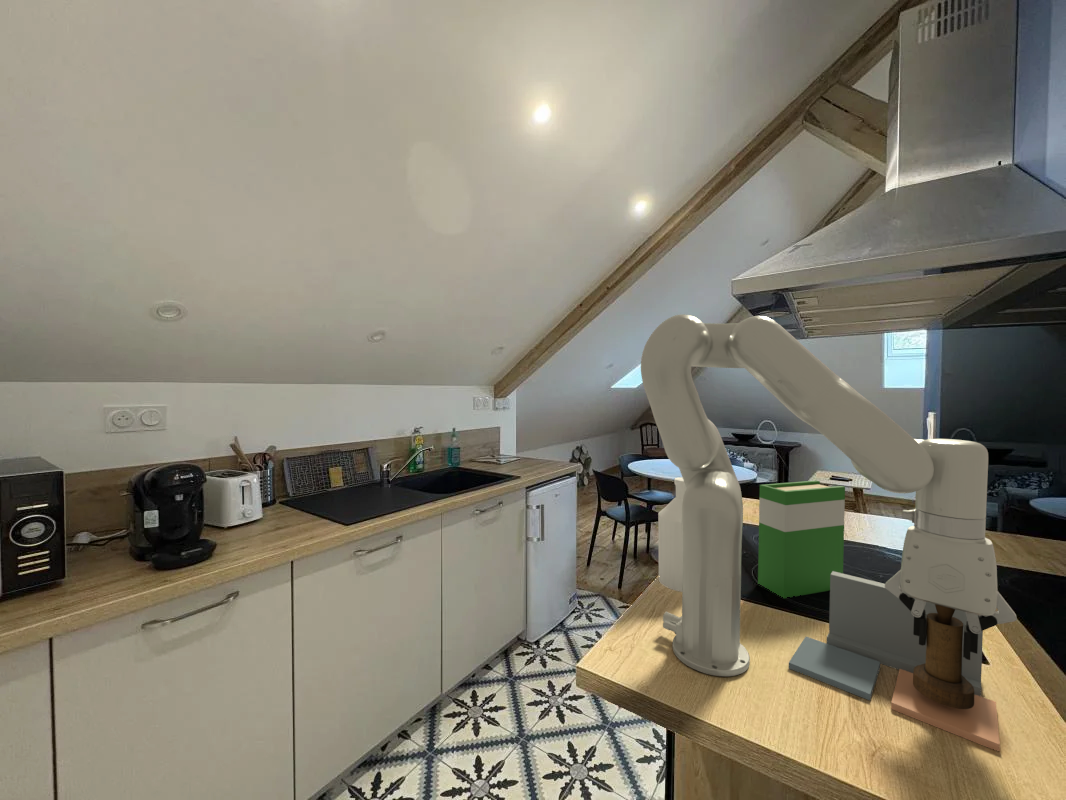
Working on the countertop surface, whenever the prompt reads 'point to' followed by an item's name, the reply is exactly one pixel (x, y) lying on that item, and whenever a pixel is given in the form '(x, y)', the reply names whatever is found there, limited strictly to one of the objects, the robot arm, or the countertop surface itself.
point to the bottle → (671, 540)
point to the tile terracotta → (948, 713)
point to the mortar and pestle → (944, 662)
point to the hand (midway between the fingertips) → (944, 647)
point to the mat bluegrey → (836, 667)
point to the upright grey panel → (885, 627)
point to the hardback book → (800, 536)
